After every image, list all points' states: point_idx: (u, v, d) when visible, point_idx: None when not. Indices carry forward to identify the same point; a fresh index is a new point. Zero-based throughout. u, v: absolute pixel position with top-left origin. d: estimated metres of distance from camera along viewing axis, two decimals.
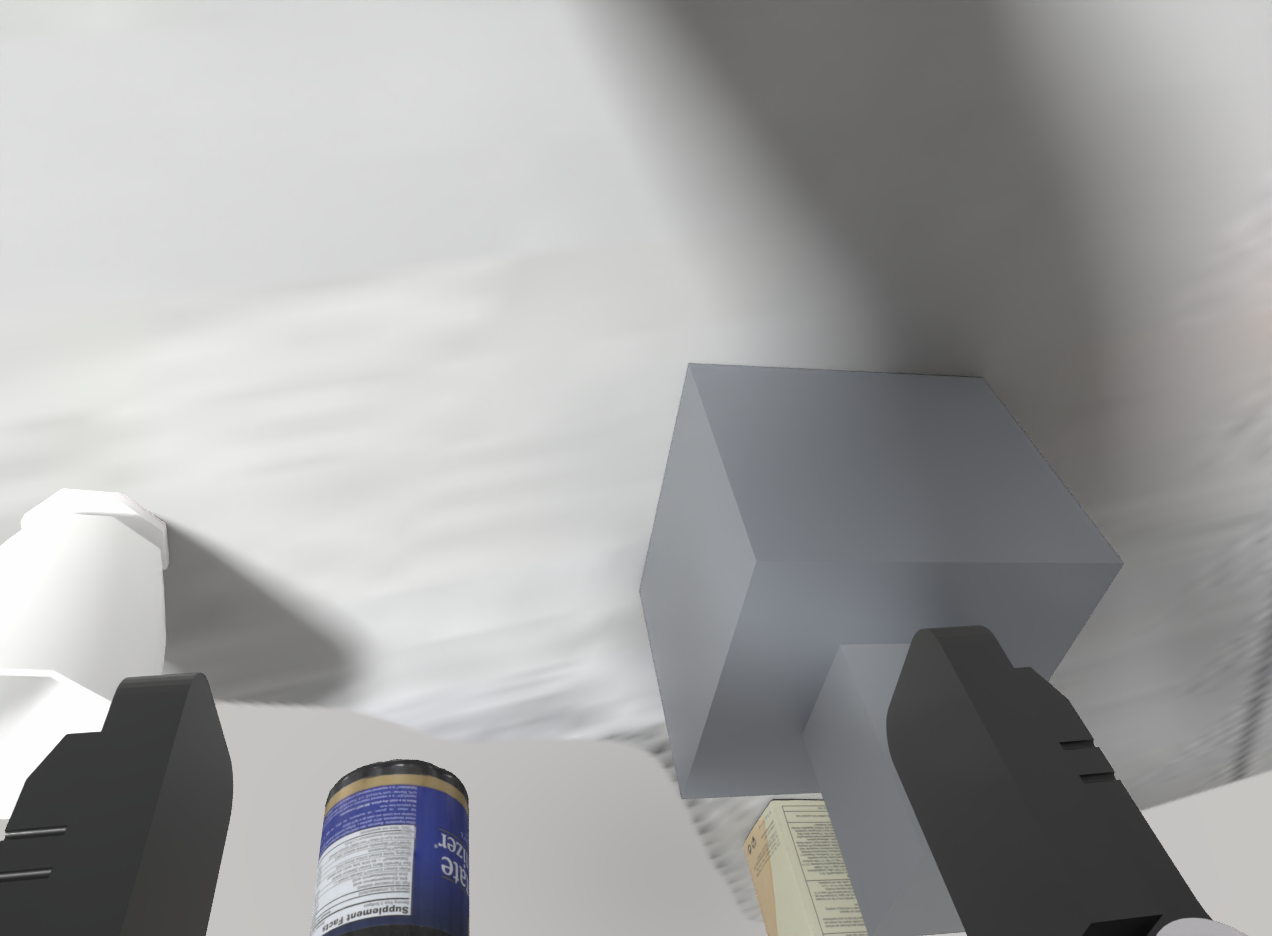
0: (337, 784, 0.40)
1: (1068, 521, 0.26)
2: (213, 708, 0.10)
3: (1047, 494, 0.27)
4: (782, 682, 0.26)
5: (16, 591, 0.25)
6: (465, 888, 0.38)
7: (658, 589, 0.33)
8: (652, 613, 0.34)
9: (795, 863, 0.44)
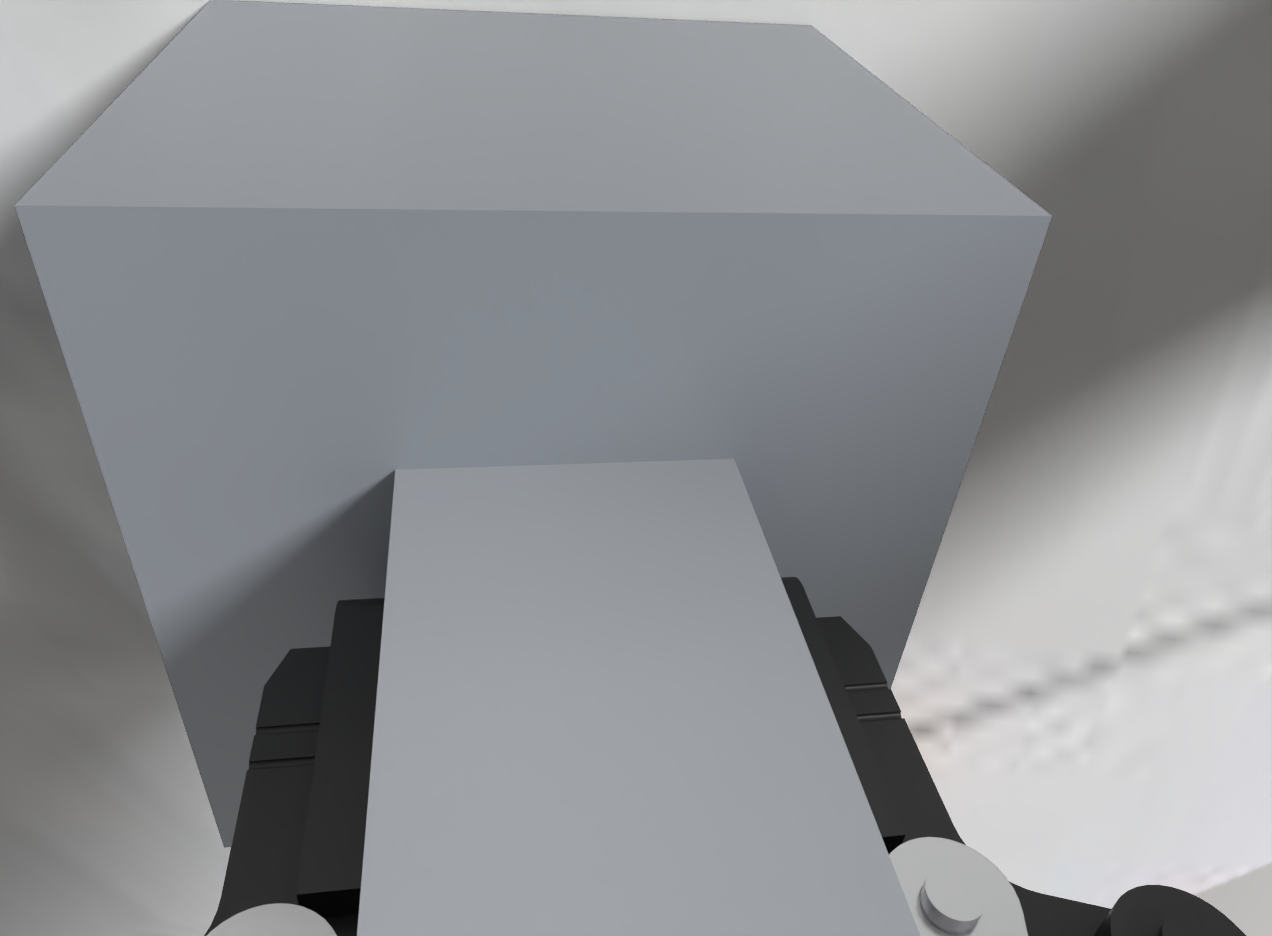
0: None
1: None
2: None
3: None
4: (613, 373, 0.11)
5: None
6: None
7: (345, 36, 0.14)
8: (258, 32, 0.14)
9: None
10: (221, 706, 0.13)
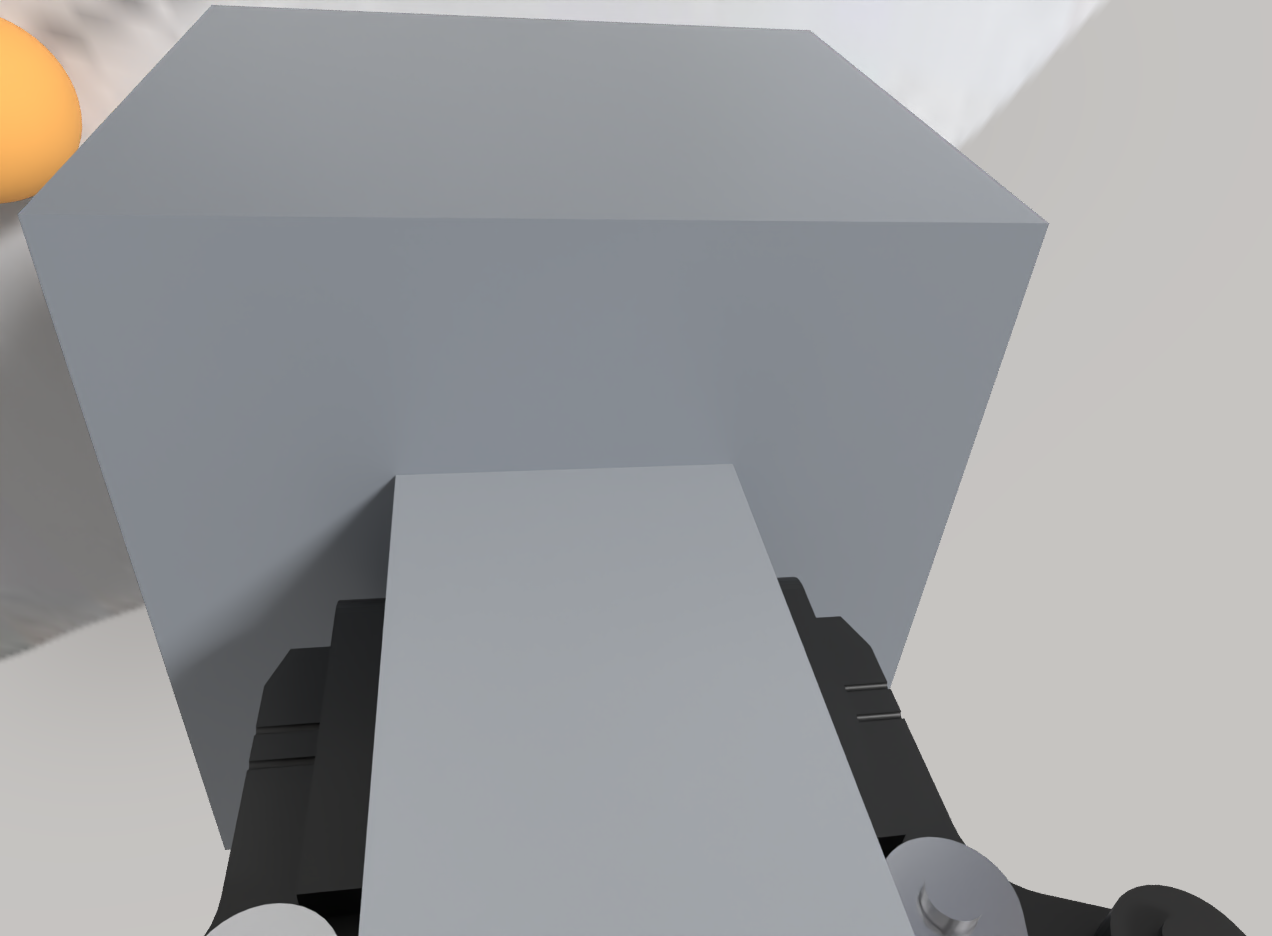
0: None
1: None
2: None
3: None
4: (612, 380, 0.11)
5: None
6: None
7: (346, 42, 0.14)
8: (258, 38, 0.14)
9: None
10: (222, 710, 0.13)
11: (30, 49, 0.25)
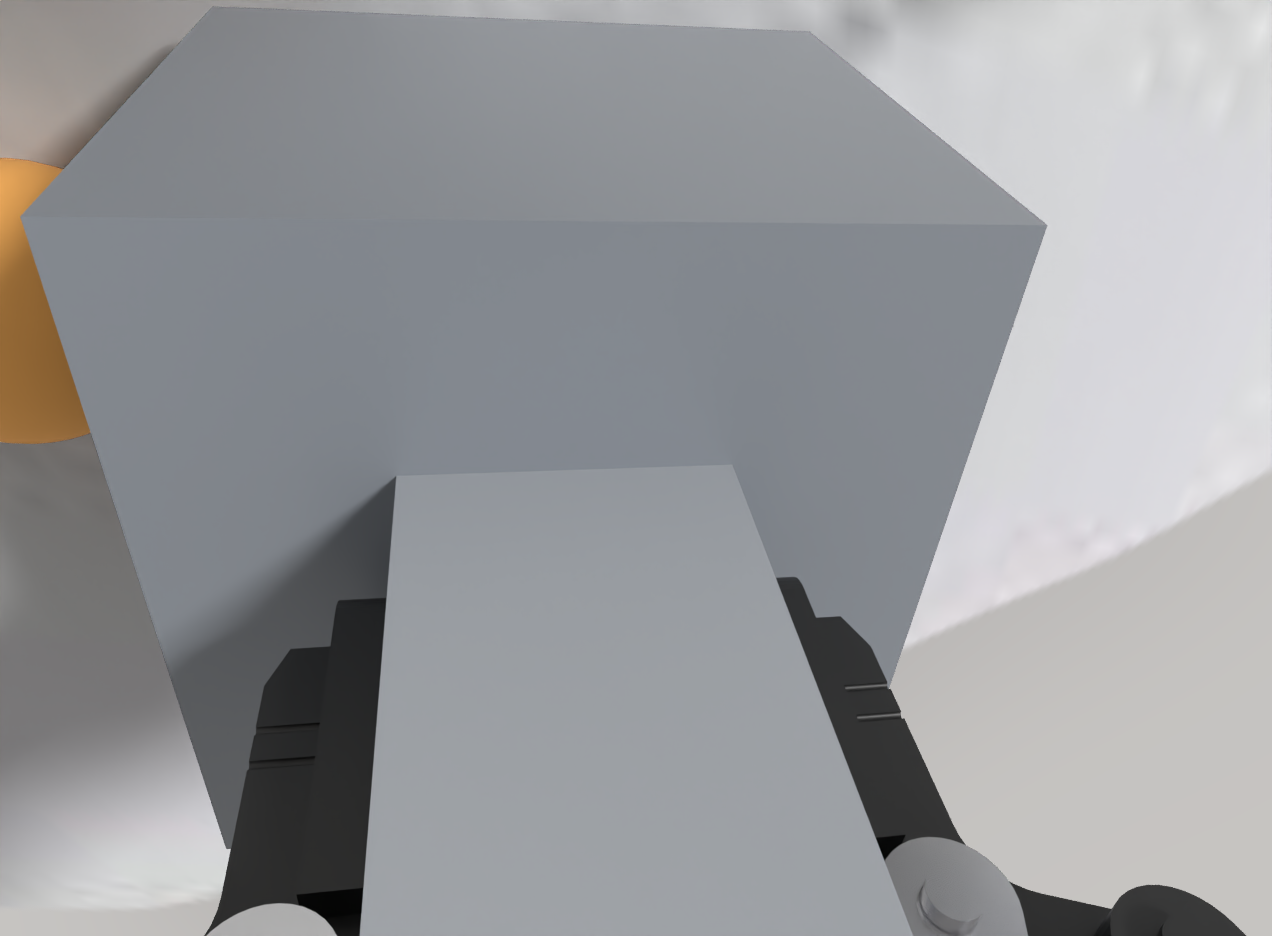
0: None
1: None
2: None
3: None
4: (611, 381, 0.11)
5: None
6: None
7: (346, 44, 0.14)
8: (259, 40, 0.14)
9: None
10: (223, 709, 0.13)
11: None
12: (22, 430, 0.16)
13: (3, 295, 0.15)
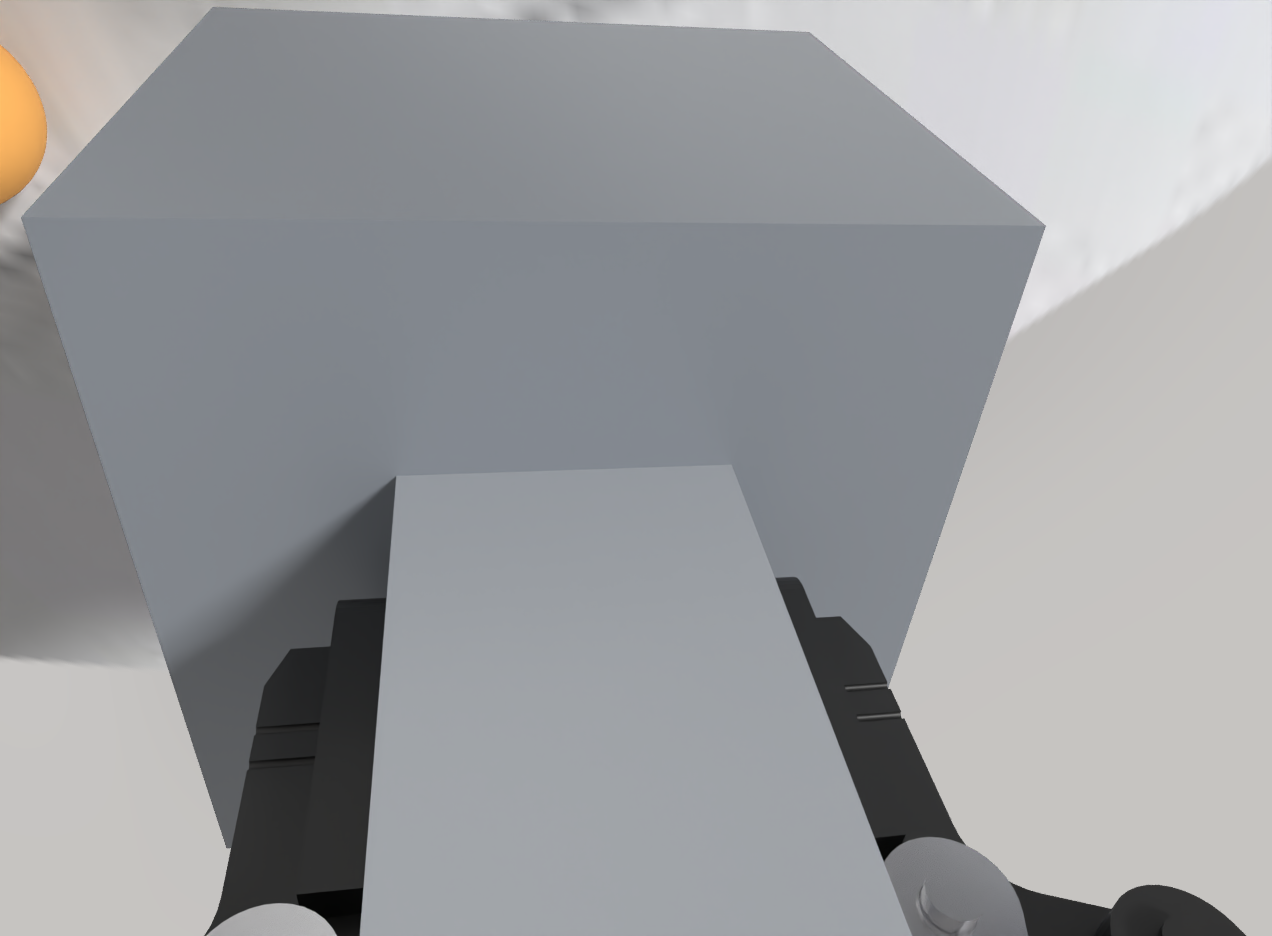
0: None
1: None
2: None
3: None
4: (611, 380, 0.11)
5: None
6: None
7: (346, 45, 0.14)
8: (259, 41, 0.14)
9: None
10: (223, 709, 0.13)
11: None
12: None
13: None
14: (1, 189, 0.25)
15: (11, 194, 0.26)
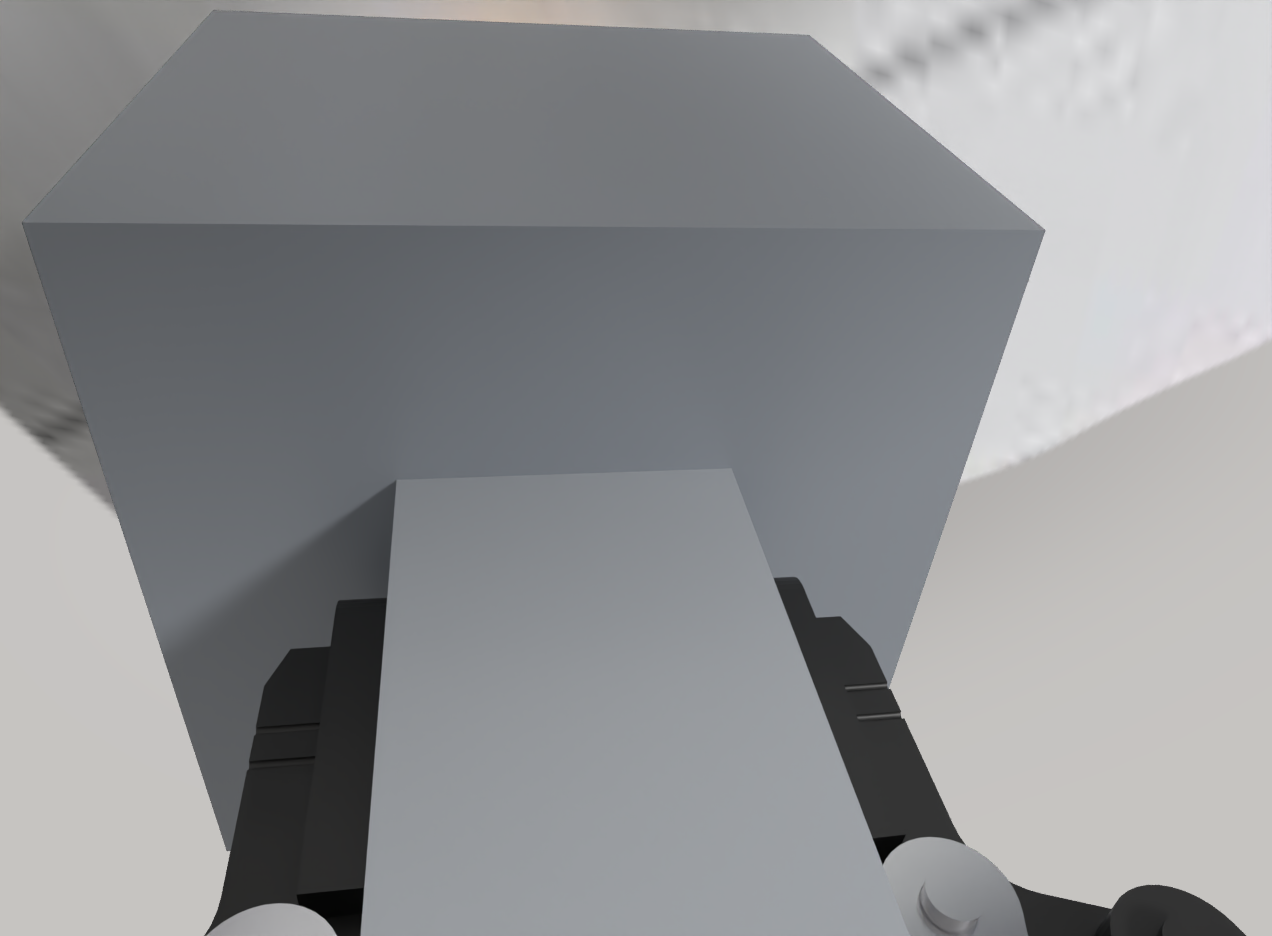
0: None
1: None
2: None
3: None
4: (612, 385, 0.11)
5: None
6: None
7: (347, 48, 0.14)
8: (260, 44, 0.14)
9: None
10: (224, 712, 0.13)
11: None
12: None
13: None
14: None
15: None
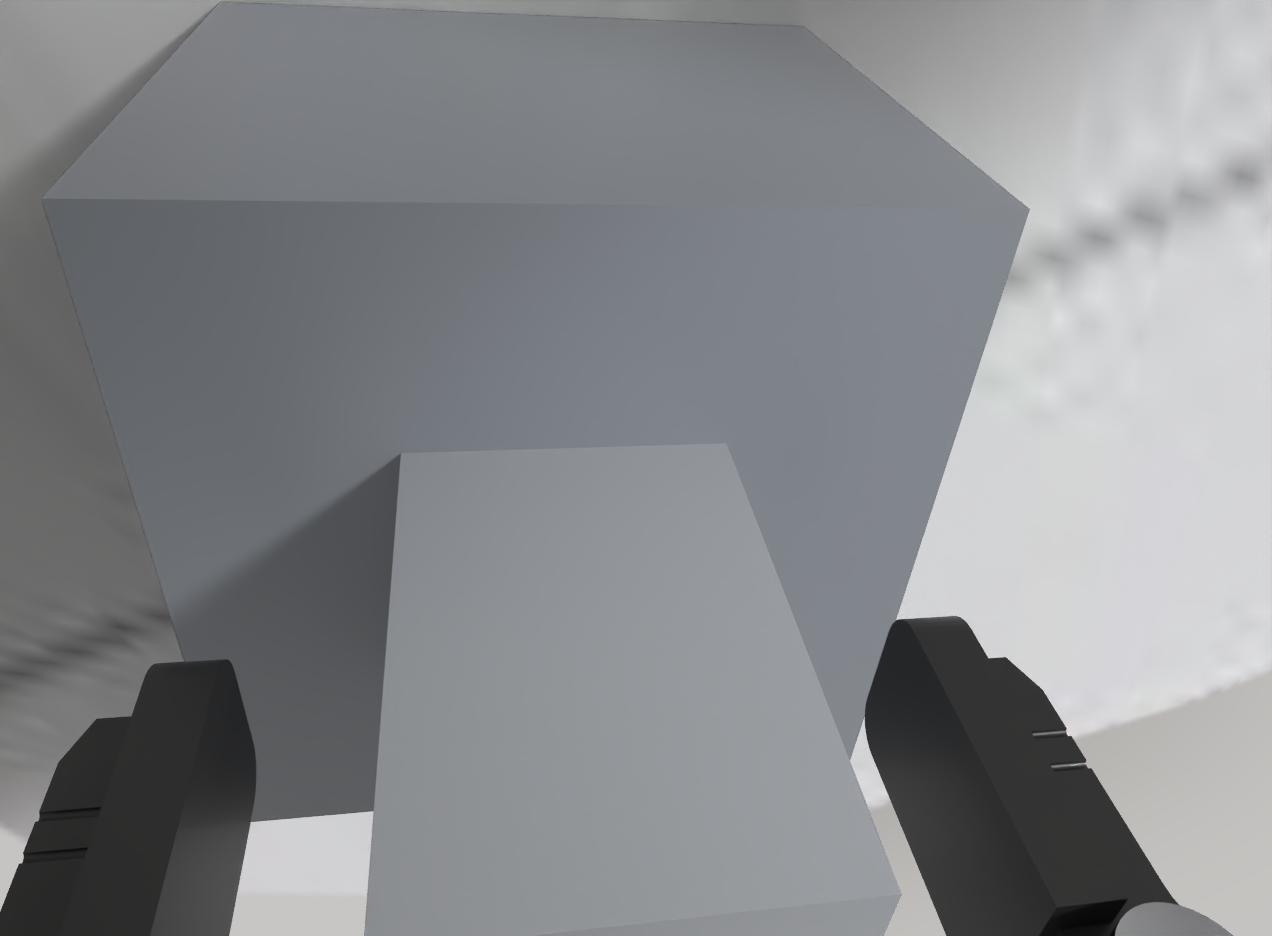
0: None
1: None
2: (238, 695, 0.10)
3: None
4: (610, 360, 0.11)
5: None
6: None
7: (351, 37, 0.15)
8: (266, 33, 0.15)
9: None
10: None
11: None
12: None
13: None
14: None
15: None
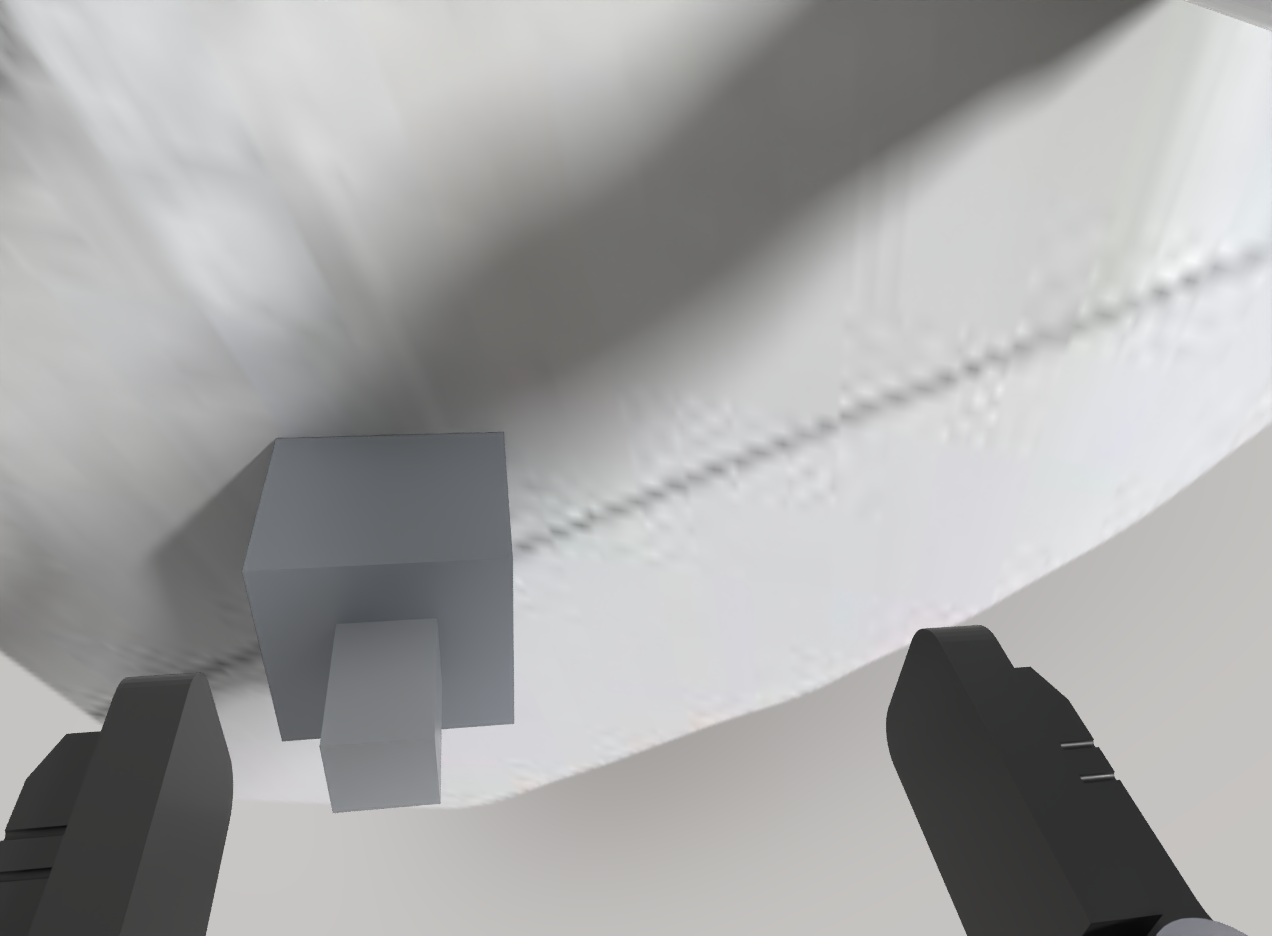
0: None
1: None
2: (213, 708, 0.10)
3: None
4: (396, 598, 0.38)
5: None
6: None
7: (323, 464, 0.42)
8: (294, 465, 0.42)
9: None
10: (283, 691, 0.41)
11: None
12: None
13: None
14: None
15: None
